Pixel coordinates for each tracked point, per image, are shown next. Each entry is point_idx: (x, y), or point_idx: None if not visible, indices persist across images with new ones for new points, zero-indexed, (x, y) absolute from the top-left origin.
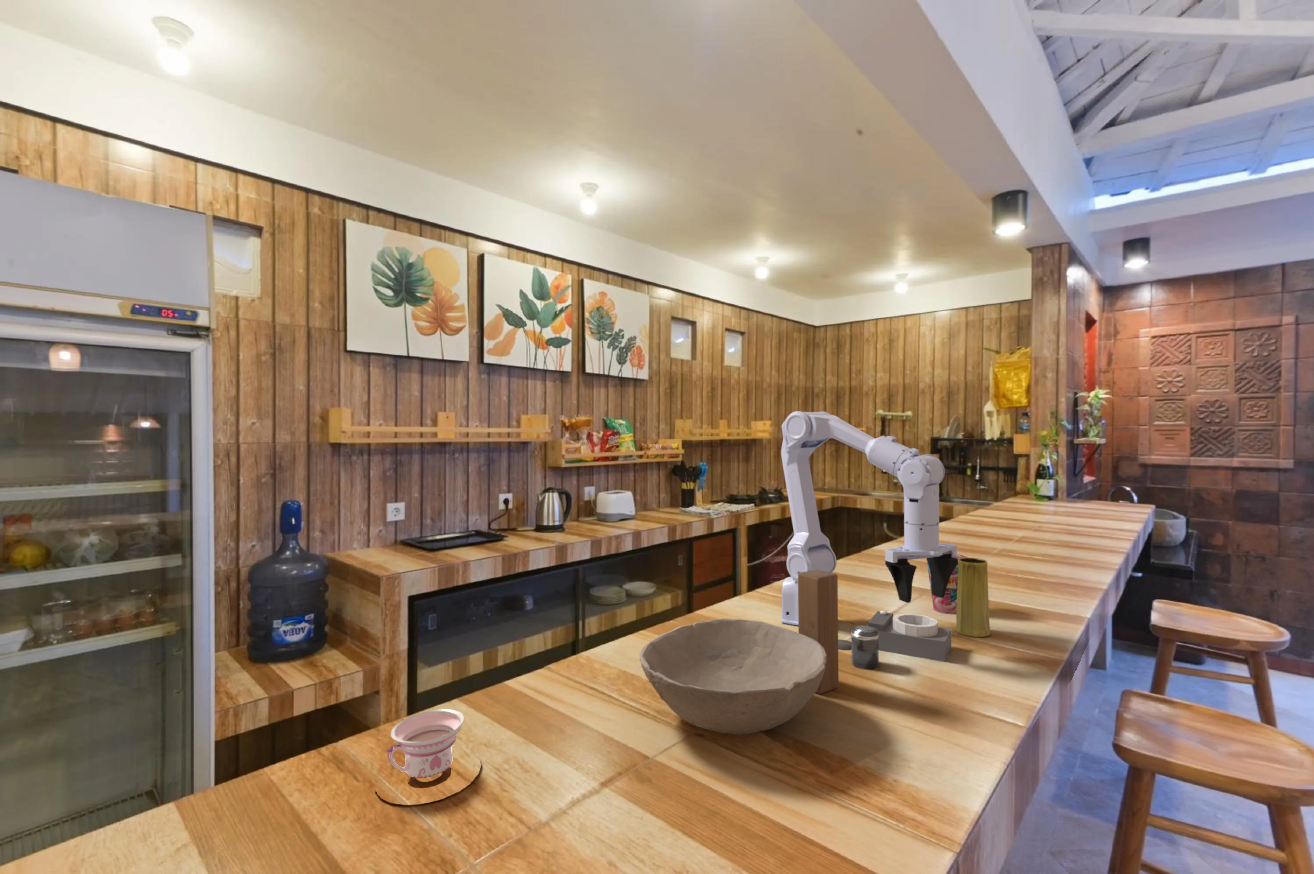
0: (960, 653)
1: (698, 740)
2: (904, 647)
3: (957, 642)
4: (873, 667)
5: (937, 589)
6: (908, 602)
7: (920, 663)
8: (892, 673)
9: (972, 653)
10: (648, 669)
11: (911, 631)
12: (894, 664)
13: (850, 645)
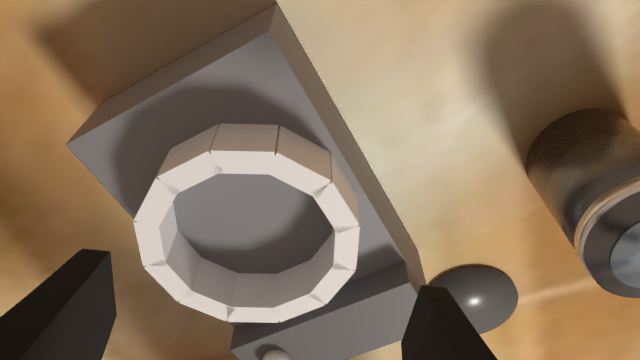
0: (119, 34)
1: None
2: (361, 161)
3: (27, 126)
4: (607, 112)
5: (89, 325)
6: (438, 287)
7: (389, 50)
8: (593, 38)
9: (61, 4)
10: None
11: (344, 185)
12: (490, 99)
13: (458, 284)
